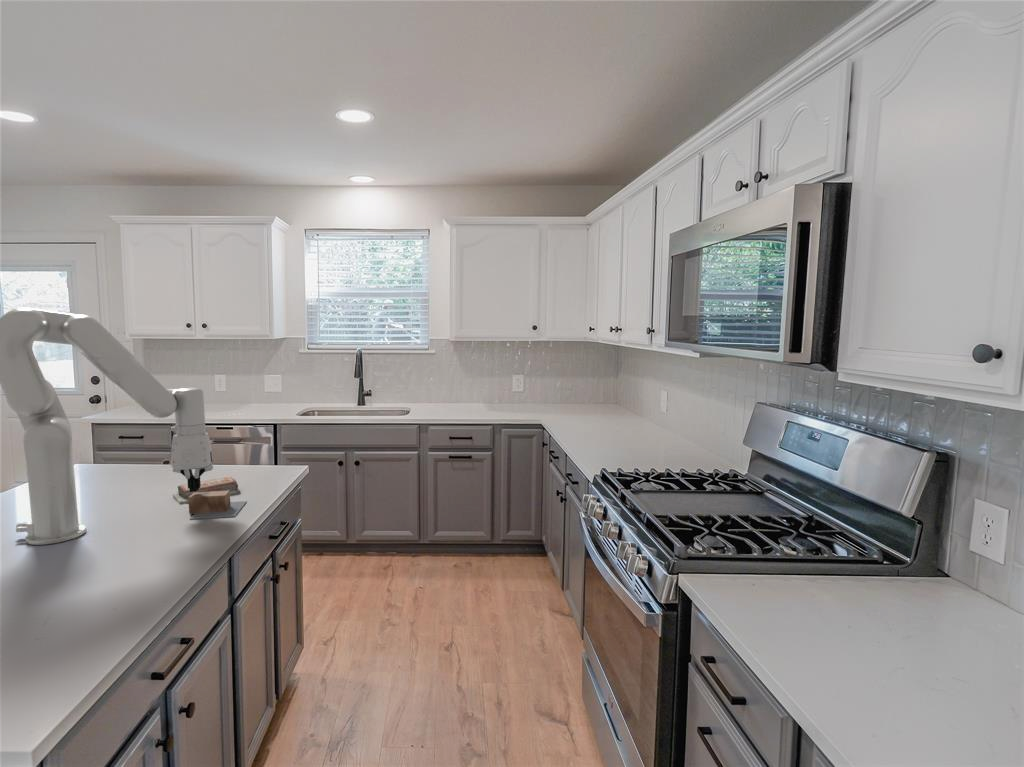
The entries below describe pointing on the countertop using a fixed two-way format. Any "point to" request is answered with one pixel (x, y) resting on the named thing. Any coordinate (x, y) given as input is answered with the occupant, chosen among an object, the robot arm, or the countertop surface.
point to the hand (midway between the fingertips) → (194, 490)
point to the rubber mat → (229, 513)
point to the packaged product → (207, 488)
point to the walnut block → (209, 502)
